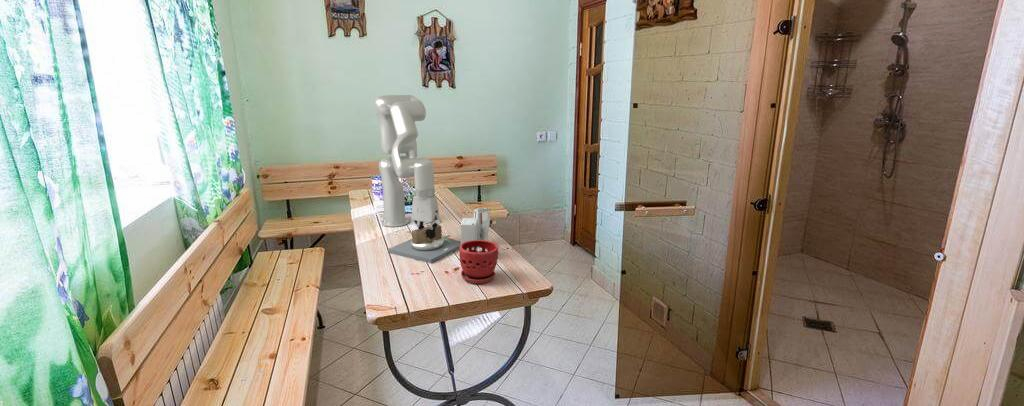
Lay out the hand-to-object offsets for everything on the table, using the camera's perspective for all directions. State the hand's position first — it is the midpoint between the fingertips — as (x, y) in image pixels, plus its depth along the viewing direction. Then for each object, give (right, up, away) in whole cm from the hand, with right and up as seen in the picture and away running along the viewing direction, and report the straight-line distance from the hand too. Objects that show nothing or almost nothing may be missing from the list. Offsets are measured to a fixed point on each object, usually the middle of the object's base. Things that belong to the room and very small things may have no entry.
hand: (427, 236), depth 188 cm
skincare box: (+18, -8, -8) cm, 21 cm away
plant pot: (+23, -13, -26) cm, 37 cm away
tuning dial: (+2, -3, +2) cm, 4 cm away
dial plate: (0, -5, +1) cm, 5 cm away
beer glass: (+21, -4, +6) cm, 23 cm away
